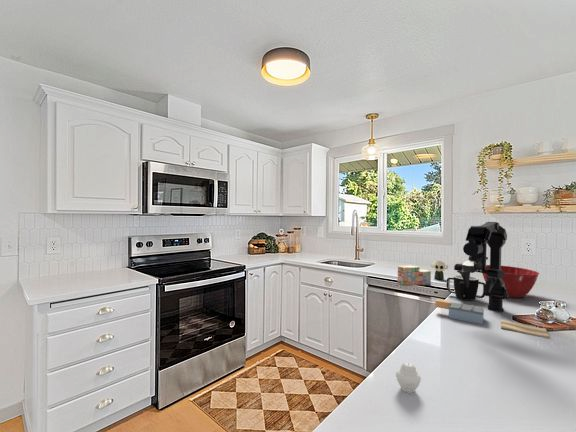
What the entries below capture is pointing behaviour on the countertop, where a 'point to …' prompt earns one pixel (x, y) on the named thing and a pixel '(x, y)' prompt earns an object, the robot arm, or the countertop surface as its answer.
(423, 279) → the stack of blocks
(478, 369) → the countertop surface
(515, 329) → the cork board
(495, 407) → the countertop surface
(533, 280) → the mixing bowl
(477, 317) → the tub
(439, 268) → the big eared figurine
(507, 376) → the countertop surface
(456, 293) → the mug
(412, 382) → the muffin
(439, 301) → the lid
